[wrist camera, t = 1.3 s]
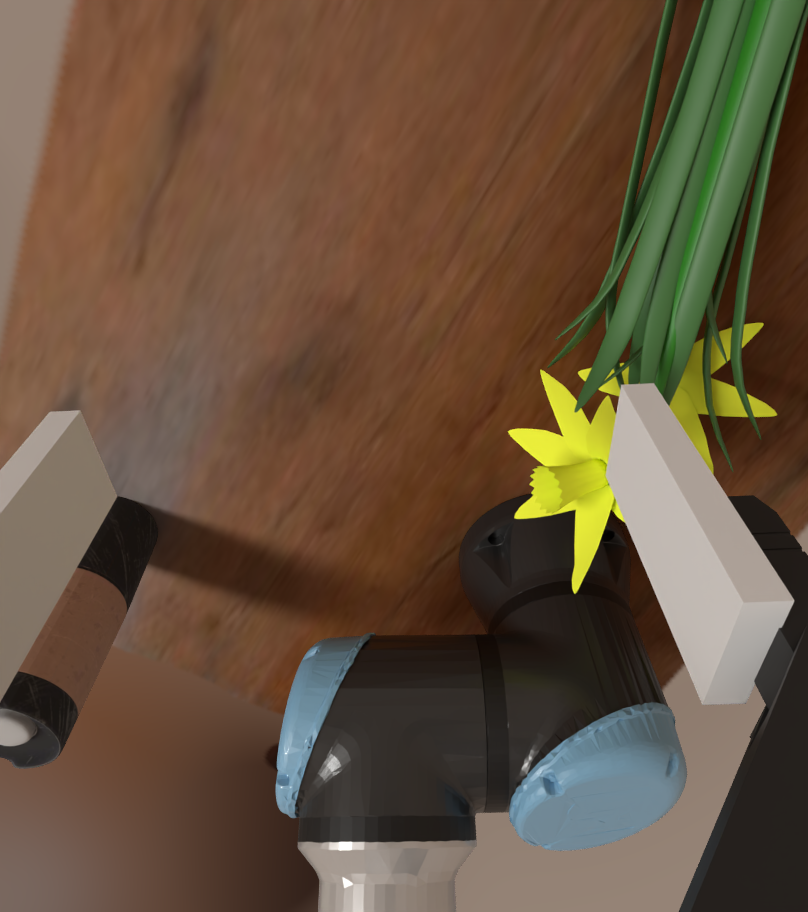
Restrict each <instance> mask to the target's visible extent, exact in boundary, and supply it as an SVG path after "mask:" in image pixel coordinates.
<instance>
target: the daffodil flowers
mask: <svg viewBox="0 0 808 912" xmlns="http://www.w3.org/2000/svg"><path fill="white" fill-rule="evenodd" d="M677 1H678V0H666V3H665V7H664V11H663V16H662V20H661V25H660V29H659V33H658V38H657V42H656V47H655V52H654V57H653V62H652V67H651V72H650V77H649V82H648V87H647V92H646V97H645V102H644V107H643V112H642V117H641V122H640V127H639V132H638V137H637V142H636V147H635V152H634V157H633V162H632V167H631V171H630V176H629V181H628V186H627V191H626V196H625V201H624V206H623V210H622V215H621V220H620V225H619V230H618V235H617V239H616V243H615V248H614V252H613V257H612V262H611V265H610V267H609V269H608V271H607V274H606V276H605V278H604V281H603V283H602V285H601V288H600V290H599V292H598V294H597V296H596V297H595V298H594V300H593V301H592V303H591V304H590V305H589V306H588V307H587V308H586V309H585V310H584V311H583V312H582V313H581V314H580V315H579V316H578V317H577V318H576V319H575V320H574V321H573V322H572V323H571V324H570V325H569V326H568V327H567V328H566V329H565V330H563V331H562V333H561V334H560V335H559V336H558V337H557V338H556V339H555V340H557V339H558V338H559V337H561V336H562V335H563V334H565V333H566V332H568V331H569V330H570V329H572V328H573V327H574V326H576V325H577V324H578V323H580V322H581V321H582V320H583V319H584V318H585V317H586V316H587V317H586V318H585V320H584V321H583V323H582V325H581V326H580V328H579V329H578V331H577V332H576V334H575V335H574V337H573V338H572V339H571V340H570V341H569V343H568V344H567V345H566V346H565V347H564V348H563V350H562V351H561V352H560V353H559V354H558V355H557V356H556V357H555V359H554V360H553V361H552V362H551V363H550V365H549V366H548V368H549V367H550V366H552V365H553V364H554V363H556V362H557V361H558V360H560V359H561V358H562V357H564V356H565V355H566V354H567V353H569V352H570V351H571V350H572V349H573V348H574V347H575V346H576V345H577V344H578V343H580V342H581V341H582V340H583V339H584V338H585V337H586V336H587V334H588V333H589V332H590V330H591V329H592V328H593V326H594V325H595V324H596V322H597V321H598V320H599V318H600V317H601V315H602V313H603V311H604V309H605V308H606V310H605V311H606V335H605V337H604V340H603V342H602V345H601V347H600V350H599V352H598V355H597V357H596V359H595V362H594V364H593V366H592V368H589V369H585V370H581V371H579V372H578V374H579V376H580V377H581V378H582V379H583V380H584V381H586V382H585V384H584V386H583V389H582V391H581V393H580V396H579V398H578V401H577V400H576V399H575V398H574V397H573V396H572V395H571V393H570V392H569V391H568V390H567V389H566V388H565V386H563V385H562V384H560V383H559V382H558V381H556V380H555V379H554V378H552V377H551V376H550V375H548V374H547V373H546V372H544V371H543V370H540V372H541V377H542V380H543V384H544V387H545V390H546V393H547V396H548V399H549V401H550V404H551V406H552V409H553V411H554V414H555V417H556V419H557V422H558V424H559V427H560V429H561V432H562V435H563V436H560V435H557V434H555V433H552V432H549V431H546V430H537V429H512V430H510V431H508V433H509V434H510V436H511V437H512V438H513V439H514V440H515V441H516V442H517V443H518V444H519V445H521V446H522V447H523V448H524V449H525V450H526V451H527V452H528V453H530V454H531V455H532V456H533V457H535V458H536V459H537V460H538V461H540V462H541V463H542V464H543V465H545V466H537V467H538V468H536V469H533V471H534V472H536V473H534V474H532V475H530V477H532V478H533V479H534V480H533V481H532V482H531V483H530V484H529V485H531V486H533V487H534V490H533V491H532V493H531V494H533V496H532V497H531V498H530V499H529V500H528V501H527V502H525V503H524V504H523V505H522V506H520V508H519V509H518V511H517V512H516V513H515V516H514V518H515V519H527V518H537V517H544V516H550V515H554V514H559V513H563V512H567V511H571V510H575V509H576V513H575V543H574V550H575V565H574V570H573V575H572V589H573V592H574V594H575V593H576V592H577V591H578V589H579V587H580V585H581V583H582V581H583V579H584V577H585V575H586V573H587V571H588V569H589V567H590V564H591V562H592V560H593V558H594V555H595V553H596V551H597V549H598V546H599V543H600V540H601V537H602V534H603V531H604V529H605V526H606V523H607V520H608V517H609V514H610V511H611V510H612V511H613V512H614V513H615V514H616V516H617V517H618V518H619V519H621V520H622V521H623V522H625V520H624V518H623V516H622V513H621V511H620V509H619V506H618V504H617V501H616V499H615V497H614V494H613V492H612V490H611V487H610V485H609V483H608V480H607V478H606V470H607V464H608V459H609V453H610V447H611V442H612V436H613V430H614V424H615V419H616V413H615V411H614V409H613V406H612V403H611V400H610V397H609V396H606V397H605V399H604V400H603V401H602V403H601V405H600V406H599V408H598V410H597V412H596V414H595V416H594V418H593V421H592V423H591V425H590V424H589V422H588V420H587V418H586V416H585V414H584V412H583V411H582V409H581V408H582V407H583V406H584V405H585V404H586V403H587V401H588V400H589V399H590V398H591V397H592V396H593V394H594V393H595V392H596V391H597V390H598V389H599V390H600V391H603V392H606V393H609V394H613V395H616V396H620V390H621V385H627V384H648V383H654V384H655V386H656V387H657V389H658V390H659V392H660V393H661V395H662V397H663V398H664V400H665V401H666V403H667V404H668V406H669V407H670V409H671V410H672V412H673V414H674V415H675V417H676V418H677V420H678V421H679V423H680V424H681V426H682V427H683V429H684V431H685V432H686V434H687V435H688V437H689V438H690V440H691V441H692V443H693V444H694V446H695V448H696V449H697V451H698V452H699V454H700V455H701V457H702V458H703V460H704V461H705V463H706V465H707V466H708V468H709V469H710V471H711V472H712V474H713V463H712V460H711V457H710V454H709V449H708V445H707V440H706V436H705V433H704V431H703V428H702V425H701V422H700V420H699V417H698V414H706V415H709V417H710V420H711V423H712V426H713V429H714V432H715V435H716V438H717V440H718V442H719V444H720V446H721V448H722V451H723V453H724V455H725V457H726V459H727V461H728V463H729V465H730V467H731V470H732V472H733V468H732V464H731V461H730V458H729V455H728V452H727V450H726V447H725V444H724V442H723V439H722V436H721V433H720V429H719V425H718V422H717V418H716V416H731V417H749V419H750V421H751V423H752V425H753V427H754V428H755V430H756V432H757V434H758V436H759V438H760V440H761V436H760V432H759V429H758V426H757V423H756V420H755V418H754V417H771V416H776V415H777V413H776V412H775V410H774V409H772V408H771V407H770V406H769V405H767V404H766V403H764V402H762V401H760V400H758V399H756V398H754V397H752V396H750V395H749V394H747V393H746V390H745V386H744V379H743V369H742V360H741V356H742V348H743V347H744V346H745V345H746V344H747V343H748V342H749V341H750V340H751V339H752V338H753V337H754V336H755V334H756V333H757V332H758V331H759V330H760V329H761V328H762V326H763V325H764V323H751V324H745V325H744V323H745V316H746V309H747V300H748V291H749V284H750V277H751V272H752V266H753V260H754V255H755V250H756V244H757V239H758V234H759V228H760V223H761V218H762V213H763V207H764V202H765V197H766V191H767V186H768V181H769V176H770V170H771V165H772V160H773V154H774V150H775V146H776V142H777V138H778V133H779V129H780V125H781V121H782V117H783V113H784V109H785V105H786V101H787V97H788V93H789V89H790V85H791V81H792V76H793V72H794V68H795V64H796V60H797V56H798V52H799V48H800V44H801V40H802V36H803V32H804V28H805V25H806V21H807V18H808V0H704V1H703V4H702V8H701V11H700V15H699V18H698V21H697V25H696V28H695V32H694V35H693V38H692V41H691V44H690V47H689V50H688V53H687V56H686V59H685V62H684V65H683V68H682V71H681V74H680V77H679V80H678V83H677V86H676V89H675V92H674V95H673V98H672V101H671V104H670V107H669V110H668V113H667V116H666V119H665V122H664V125H663V128H662V131H661V134H660V138H659V141H658V143H657V146H656V149H655V151H654V154H653V156H652V159H651V162H650V164H649V167H648V170H647V172H646V175H645V178H644V180H643V183H642V185H641V188H640V191H639V193H638V196H637V199H636V201H635V198H636V193H637V189H638V184H639V179H640V174H641V170H642V165H643V160H644V155H645V151H646V146H647V141H648V136H649V131H650V126H651V121H652V117H653V112H654V107H655V102H656V97H657V92H658V87H659V83H660V78H661V73H662V68H663V63H664V58H665V53H666V48H667V44H668V40H669V35H670V31H671V27H672V22H673V18H674V14H675V10H676V5H677ZM765 131H766V132H765ZM764 135H765V136H764ZM763 139H764V140H763ZM762 143H763V144H762ZM761 147H762V149H761ZM760 151H761V153H760ZM759 154H760V158H759ZM758 158H759V164H758V169H757V175H756V180H755V186H754V191H753V197H752V202H751V208H750V213H749V219H748V224H747V230H746V236H745V241H744V247H743V252H742V258H741V263H740V269H739V275H738V283H737V290H736V299H735V308H734V316H733V324H732V328H729V329H726V330H723V331H720V332H719V331H718V328H717V324H716V320H715V319H716V315H717V311H718V306H719V302H720V299H721V295H722V292H723V288H724V285H725V281H726V278H727V275H728V271H729V267H730V264H731V260H732V256H733V252H734V249H735V245H736V241H737V237H738V234H739V230H740V226H741V222H742V219H743V215H744V211H745V207H746V204H747V200H748V196H749V192H750V188H751V185H752V181H753V177H754V173H755V170H756V166H757V162H758ZM634 203H635V204H634ZM642 228H643V229H642ZM641 230H642V232H641ZM640 233H641V235H640ZM639 235H640V238H639V241H638V244H637V248H636V251H635V254H634V256H633V259H632V262H631V265H630V268H629V271H628V274H627V276H626V279H625V282H624V285H623V288H622V291H621V293H620V296H619V299H618V302H617V305H616V293H617V285H618V279H619V277H620V274H621V272H622V270H623V268H624V266H625V264H626V262H627V260H628V258H629V256H630V253H631V251H632V249H633V247H634V245H635V243H636V241H637V239H638V237H639ZM724 251H725V252H724ZM723 254H724V256H723ZM722 257H723V260H722ZM721 260H722V264H721V267H720V263H721ZM719 267H720V271H719V275H718V278H717V281H716V285H715V288H714V292H713V296H712V288H713V285H714V282H715V279H716V276H717V273H718V270H719ZM615 307H616V308H615ZM705 311H706V317H707V321H706V327H705V333H704V338H703V339H701V340H699V341H697V342H696V343H694V342H695V340H696V337H697V334H698V331H699V328H700V325H701V322H702V319H703V316H704V313H705ZM632 335H633V337H632V343H631V350H630V358H629V359H628V360H627V361H626V362H625V363H619V358H620V356H621V355H622V353H623V351H624V349H625V347H626V345H627V344H628V342H629V340H630V338H631V336H632ZM729 359H731V365H732V371H733V377H734V383H735V387H734V386H731V385H729V384H726V383H723V382H721V381H718V380H715V379H713V378H711V375H712V374H713V373H714V372H715V371H716V370H718V369H719V368H720V367H721V366H722V365H724V364H725V363H727V364H728V362H727V361H728V360H729Z"/></svg>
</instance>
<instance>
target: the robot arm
mask: <svg viewBox="0 0 808 912" xmlns="http://www.w3.org/2000/svg"><path fill="white" fill-rule="evenodd" d="M606 478H607V480H608V483H609V485H610V487H611V490H612V492H613V494H614V497H615V499H616V501H617V504H618V506H619V509H620V511H621V513H622V516H623V518H624V520H625V523H626V525H627V528H628V530H629V532H630V535H631V537H632V539H633V542H634V544H635V547H636V549H637V551H638V554H639V556H640V558H641V561H642V563H643V565H644V568H645V570H646V573H647V575H648V577H649V580H650V582H651V584H652V587H653V589H654V592H655V594H656V596H657V599H658V601H659V603H660V606H661V608H662V610H663V613H664V615H665V618H666V620H667V622H668V625H669V627H670V629H671V632H672V634H673V637H674V639H675V641H676V644H677V646H678V648H679V651H680V653H681V656H682V658H683V660H684V663H685V665H686V667H687V670H688V672H689V674H690V677H691V679H692V681H693V684H694V686H695V689H696V691H697V693H698V696H699V698H700V701H701V703H702V705H717V704H746V702H747V700H748V698H749V696H750V694H751V692H752V689H753V687H754V685H755V684H756V686H757V688H758V690H759V692H760V694H761V696H762V698H763V700H764V702H765V703H766V706H765V709H764V710H763V712H762V714H761V716H760V718H759V720H758V722H757V724H756V726H755V728H754V730H753V732H752V734H751V736H750V738H751V740H750V743H749V745H748V747H747V750H746V752H745V755H744V757H743V760H742V762H741V764H740V767H739V769H738V771H737V774H736V776H735V779H734V781H733V783H732V786H731V788H730V791H729V793H728V796H727V798H726V800H725V802H724V805H723V807H722V810H721V812H720V815H719V817H718V819H717V821H716V824H715V826H714V829H713V831H712V833H711V836H710V838H709V841H708V843H707V845H706V848H705V850H704V853H703V855H702V857H701V860H700V862H699V864H698V867H697V869H696V872H695V874H694V876H693V879H692V881H691V884H690V886H689V888H688V891H687V893H686V896H685V898H684V900H683V903H682V905H681V908H680V910H679V912H808V555H807V554H806V553H805V552H802V547H801V546H800V544H799V543H798V542H797V540H796V539H795V537H794V536H793V535H790V530H789V529H788V528H787V526H786V525H785V524H784V522H783V521H782V519H781V518H780V517H779V515H778V514H777V512H775V511H774V510H773V509H771V508H770V507H769V506H767V505H766V504H764V503H763V502H762V501H760V500H759V499H758V498H756V497H755V496H754V495H752V496H729V497H727V495H726V494H725V492H724V491H723V489H722V488H721V486H720V485H719V483H718V482H717V480H716V478H715V477H714V475H713V474H712V472H711V471H710V469H709V468H708V466H707V465H706V463H705V461H704V460H703V458H702V457H701V455H700V454H699V452H698V451H697V449H696V448H695V446H694V444H693V443H692V441H691V440H690V438H689V437H688V435H687V434H686V432H685V431H684V429H683V427H682V426H681V424H680V423H679V421H678V420H677V418H676V417H675V415H674V414H673V412H672V410H671V409H670V407H669V406H668V404H667V403H666V401H665V400H664V398H663V397H662V395H661V393H660V392H659V390H658V389H657V387H656V386H655V384H654V383H648V384H627V385H621V390H620V396H619V401H618V407H617V413H616V419H615V424H614V430H613V436H612V442H611V447H610V453H609V459H608V464H607V470H606ZM532 496H533V494H529V495H524V496H520V497H517V498H514V499H511V500H509V501H506V502H504V503H502V504H500V505H498V506H496V507H494V508H493V509H491V510H490V511H488V512H487V513H485V514H484V515H483V516H482V517H480V518H479V519H478V520H477V521H476V522H475V523H474V524H473V525H472V527H471V528H470V529H469V531H468V532H467V534H466V535H465V537H464V539H463V542H462V544H461V547H460V552H459V567H460V576H461V582H462V586H463V589H464V592H465V594H466V596H467V598H468V600H469V602H470V603H471V605H472V607H473V609H474V610H475V612H476V614H477V616H478V618H479V619H480V621H481V623H482V625H483V626H484V628H485V630H486V632H487V634H486V635H384V636H376V634H375V633H367V634H365V635H364V636H354V637H338V638H328V639H324V640H321V641H319V642H318V643H316V644H315V645H314V646H312V647H311V648H310V649H309V651H308V652H307V653H306V655H305V656H304V658H303V660H302V662H301V664H300V666H299V668H298V671H297V673H296V676H295V678H294V681H293V684H292V688H291V691H290V695H289V698H288V702H287V706H286V710H285V715H284V720H283V725H282V730H281V736H280V742H279V749H278V757H277V769H278V774H277V781H276V800H277V804H278V807H279V809H280V810H281V811H282V812H283V813H285V814H288V815H289V816H290V817H291V818H296V817H299V818H300V821H299V835H298V848H299V850H300V851H301V852H302V853H303V855H304V856H305V857H306V859H307V860H308V861H309V863H310V864H311V865H312V866H313V868H314V869H315V870H316V872H317V874H318V877H319V879H320V886H319V907H318V912H456V896H455V877H456V875H457V872H458V870H459V868H460V867H461V866H462V864H463V863H464V862H465V860H466V859H467V858H468V856H469V855H470V854H471V852H472V851H473V850H474V848H475V847H476V844H477V842H476V841H477V840H476V826H475V815H476V813H484V812H485V813H486V812H487V813H491V812H509V817H510V822H511V823H512V825H513V826H514V827H515V830H516V832H517V834H518V835H519V836H520V837H521V838H522V839H523V840H524V841H526V842H527V843H529V844H531V845H533V846H538V845H541V846H542V847H544V848H545V849H548V850H558V851H562V850H579V849H586V848H592V847H597V846H601V845H605V844H608V843H611V842H615V841H618V840H621V839H623V838H626V837H628V836H630V835H633V834H635V833H637V832H639V831H641V830H642V829H644V828H646V827H648V826H650V825H652V824H653V823H655V822H656V821H658V820H659V819H660V818H661V817H663V816H664V815H665V814H666V813H667V812H668V811H669V810H670V809H671V808H672V807H673V806H674V805H675V803H676V802H677V801H678V799H679V798H680V796H681V794H682V792H683V789H684V787H685V783H686V777H687V768H686V762H685V758H684V755H683V752H682V748H681V745H680V742H679V739H678V736H677V732H676V729H675V717H674V716H673V713H672V710H671V709H670V708H669V707H668V705H667V703H666V700H665V697H664V695H663V692H662V690H661V687H660V685H659V682H658V680H657V677H656V674H655V672H654V669H653V667H652V664H651V662H650V659H649V657H648V654H647V651H646V649H645V646H644V644H643V641H642V639H641V636H640V634H639V631H638V628H637V626H636V623H635V621H634V618H633V615H632V613H631V610H630V607H629V595H630V567H631V557H630V551H629V547H628V544H627V541H626V539H625V536H624V534H623V531H622V529H621V527H620V525H619V523H618V521H617V520H616V518H615V517H614V516H613V515H612V514H611V513H610V514H609V517H608V520H607V523H606V526H605V529H604V531H603V534H602V537H601V540H600V543H599V546H598V549H597V551H596V553H595V555H594V558H593V560H592V562H591V564H590V567H589V569H588V571H587V573H586V575H585V577H584V579H583V581H582V583H581V585H580V587H579V589H578V591H577V592H576V593H575V594H574V592H573V589H572V575H573V570H574V565H575V550H574V543H575V513H576V509H575V510H571V511H567V512H563V513H559V514H554V515H550V516H544V517H537V518H527V519H515V518H514V516H515V513H516V512H517V511H518V509H519V508H520V506H522V505H523V504H524V503H525V502H527V501H528V500H529V499H530V498H531V497H532ZM116 498H117V495H116V493H115V490H114V488H113V486H112V483H111V481H110V479H109V476H108V474H107V472H106V469H105V467H104V464H103V462H102V460H101V457H100V455H99V453H98V450H97V448H96V446H95V443H94V441H93V439H92V436H91V434H90V432H89V429H88V427H87V425H86V422H85V420H84V418H83V415H82V413H81V411H61V412H49V414H48V415H47V416H46V417H45V418H44V419H43V421H42V422H41V423H40V424H39V425H38V427H37V428H36V429H35V430H34V431H33V432H32V434H31V435H30V436H29V437H28V438H27V440H26V441H25V442H24V443H23V444H22V445H21V447H20V448H19V449H18V450H17V451H16V453H15V454H14V455H13V456H12V457H11V458H10V460H9V461H8V462H7V463H6V464H5V465H4V467H3V468H2V469H1V470H0V701H1V700H2V698H3V696H4V694H5V693H6V691H7V689H8V687H9V686H10V684H11V682H12V680H13V679H14V677H15V675H16V673H17V672H18V670H19V668H20V666H21V665H22V663H23V661H24V659H25V658H26V656H27V654H28V652H29V651H30V649H31V647H32V645H33V644H34V642H35V640H36V638H37V637H38V635H39V633H40V631H41V630H42V628H43V626H44V624H45V623H46V621H47V619H48V617H49V615H50V614H51V612H52V610H53V608H54V607H55V605H56V603H57V601H58V600H59V598H60V596H61V594H62V593H63V591H64V589H65V587H66V586H67V584H68V582H69V580H70V579H71V577H72V575H73V573H74V572H75V570H76V568H77V566H78V565H79V563H80V561H81V559H82V558H83V556H84V554H85V552H86V551H87V549H88V547H89V545H90V544H91V542H92V540H93V538H94V537H95V535H96V533H97V531H98V530H99V528H100V526H101V524H102V523H103V521H104V519H105V517H106V516H107V514H108V512H109V510H110V509H111V507H112V505H113V503H114V501H115V500H116Z"/></svg>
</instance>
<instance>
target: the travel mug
mask: <svg viewBox="0 0 808 912" xmlns="http://www.w3.org/2000/svg"><path fill="white" fill-rule="evenodd" d="M157 536H158V530H157V525H156V523H155V521H154V519H153V518H152V516H151V515H150V514H149V513H148V512H147V511H146V510H145V509H144V508H142V507H141V506H140V505H138V504H136V503H134V502H132V501H130V500H128V499H125V498H121V497H117V498H116V500H115V501H114V503H113V505H112V507H111V509H110V510H109V512H108V514H107V516H106V517H105V519H104V521H103V523H102V524H101V526H100V528H99V530H98V531H97V533H96V535H95V537H94V538H93V540H92V542H91V544H90V545H89V547H88V549H87V551H86V552H85V554H84V556H83V558H82V559H81V561H80V563H79V565H78V566H77V568H76V570H75V572H74V573H73V575H72V577H71V579H70V580H69V582H68V584H67V586H66V587H65V589H64V591H63V593H62V594H61V596H60V598H59V600H58V601H57V603H56V605H55V607H54V608H53V610H52V612H51V614H50V615H49V617H48V619H47V621H46V623H45V624H44V626H43V628H42V630H41V631H40V633H39V635H38V637H37V638H36V640H35V642H34V644H33V645H32V647H31V649H30V651H29V652H28V654H27V656H26V658H25V659H24V661H23V663H22V665H21V666H20V668H19V670H18V672H17V673H16V675H15V677H14V679H13V680H12V682H11V684H10V686H9V687H8V689H7V691H6V693H5V694H4V696H3V698H2V700H1V701H0V757H1V758H5V759H7V760H9V761H11V762H12V764H13V766H14V767H15V768H24V769H25V768H34V767H39V766H43V765H46V764H48V763H50V762H52V761H54V760H55V759H56V758H57V757H58V756H59V755H60V753H61V751H62V750H63V748H64V746H65V744H66V741H67V739H68V737H69V735H70V733H71V731H72V728H73V727H74V724H75V722H76V720H77V718H78V716H79V714H80V712H81V709H82V708H83V705H84V703H85V701H86V698H87V697H88V695H89V692H90V691H91V688H92V686H93V684H94V682H95V680H96V677H97V676H98V673H99V671H100V669H101V667H102V665H103V663H104V661H105V659H106V656H107V654H108V652H109V650H110V648H111V646H112V644H113V642H114V640H115V638H116V635H117V633H118V631H119V629H120V627H121V625H122V623H123V621H124V618H125V616H126V614H127V612H128V609H129V607H130V604H131V602H132V600H133V597H134V595H135V592H136V590H137V587H138V585H139V583H140V580H141V578H142V575H143V573H144V571H145V568H146V566H147V563H148V561H149V558H150V556H151V554H152V551H153V549H154V546H155V543H156V540H157Z"/></svg>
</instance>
